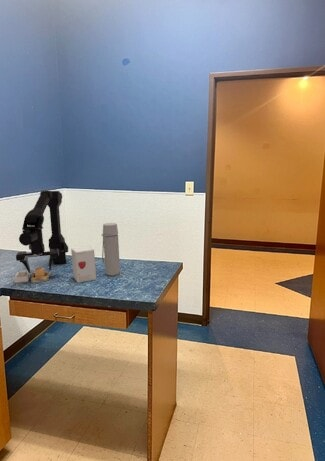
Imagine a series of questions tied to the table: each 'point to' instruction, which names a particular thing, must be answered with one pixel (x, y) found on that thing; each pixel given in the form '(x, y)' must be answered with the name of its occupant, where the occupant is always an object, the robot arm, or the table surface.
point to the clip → (22, 278)
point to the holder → (40, 278)
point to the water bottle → (111, 249)
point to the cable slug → (22, 273)
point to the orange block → (39, 272)
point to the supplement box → (83, 263)
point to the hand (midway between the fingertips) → (39, 271)
